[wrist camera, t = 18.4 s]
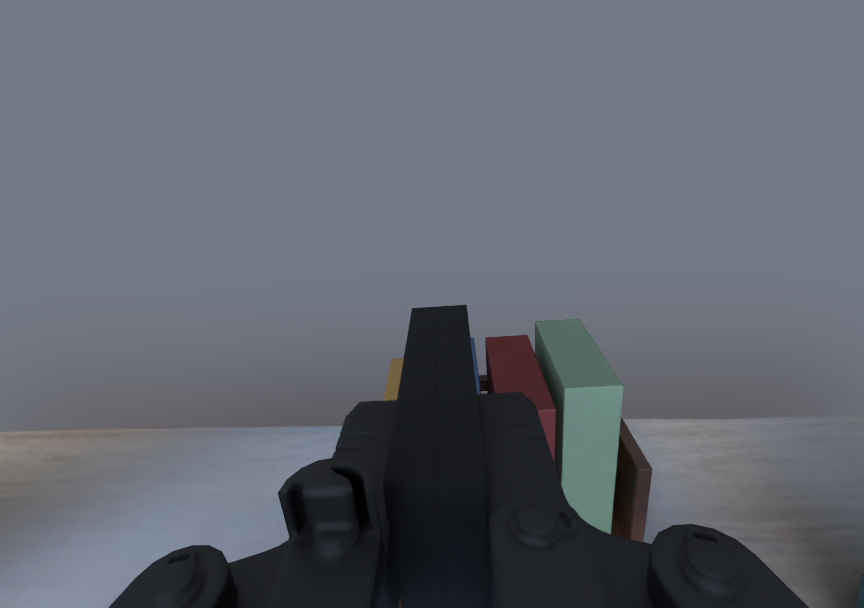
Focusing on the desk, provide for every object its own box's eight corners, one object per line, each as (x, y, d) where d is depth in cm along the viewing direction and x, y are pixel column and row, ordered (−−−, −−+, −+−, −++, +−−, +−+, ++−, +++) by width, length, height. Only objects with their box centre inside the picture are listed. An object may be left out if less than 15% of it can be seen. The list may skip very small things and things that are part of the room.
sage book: (611, 534, 29) (624, 385, 25) (559, 536, 29) (564, 388, 25) (574, 441, 37) (579, 318, 33) (534, 443, 37) (534, 320, 33)
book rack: (667, 650, 25) (688, 529, 22) (378, 657, 26) (355, 541, 23) (588, 460, 39) (593, 368, 36) (401, 469, 40) (389, 380, 36)
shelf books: (552, 552, 28) (556, 409, 24) (394, 558, 29) (372, 419, 25) (528, 453, 36) (527, 334, 32) (405, 459, 37) (390, 343, 33)
